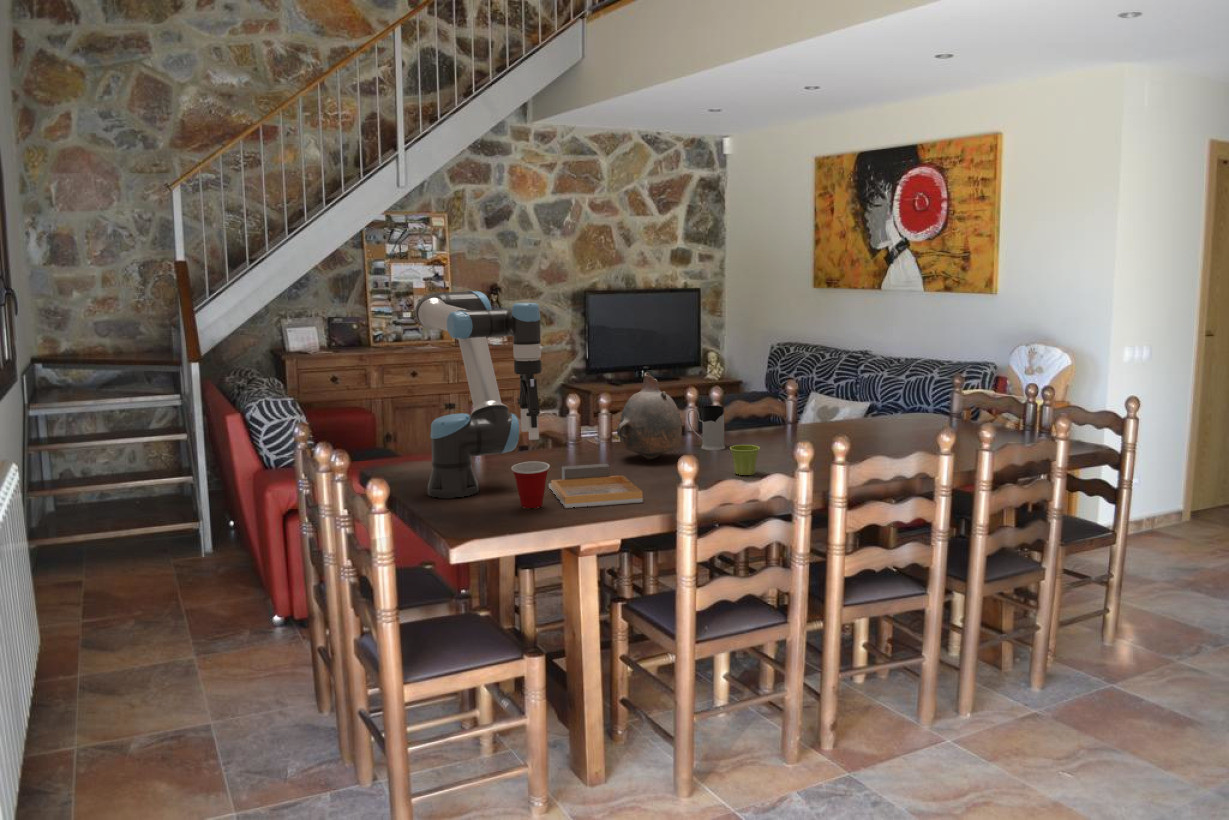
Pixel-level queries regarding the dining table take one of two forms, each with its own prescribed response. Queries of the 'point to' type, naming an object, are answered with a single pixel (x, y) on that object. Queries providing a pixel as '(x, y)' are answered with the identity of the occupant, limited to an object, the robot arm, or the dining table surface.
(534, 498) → the plastic cup
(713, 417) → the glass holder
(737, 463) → the plant pot
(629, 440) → the jug
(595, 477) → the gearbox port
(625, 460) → the dining table surface
